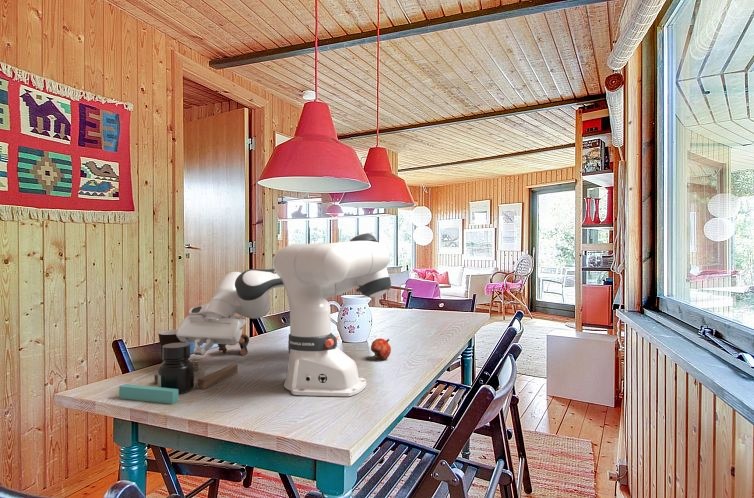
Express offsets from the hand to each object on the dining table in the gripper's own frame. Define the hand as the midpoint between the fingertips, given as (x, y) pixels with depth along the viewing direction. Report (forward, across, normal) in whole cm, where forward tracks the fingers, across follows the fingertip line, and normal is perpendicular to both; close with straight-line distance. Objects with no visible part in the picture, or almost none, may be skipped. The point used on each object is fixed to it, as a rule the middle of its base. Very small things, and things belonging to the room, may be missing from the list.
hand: (198, 354), depth 132 cm
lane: (+5, 0, -4) cm, 7 cm away
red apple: (-19, -46, -30) cm, 58 cm away
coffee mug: (-5, +19, -15) cm, 25 cm away
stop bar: (+19, 0, +9) cm, 21 cm away
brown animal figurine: (-16, +6, -26) cm, 31 cm away
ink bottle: (+13, -2, +3) cm, 13 cm away
